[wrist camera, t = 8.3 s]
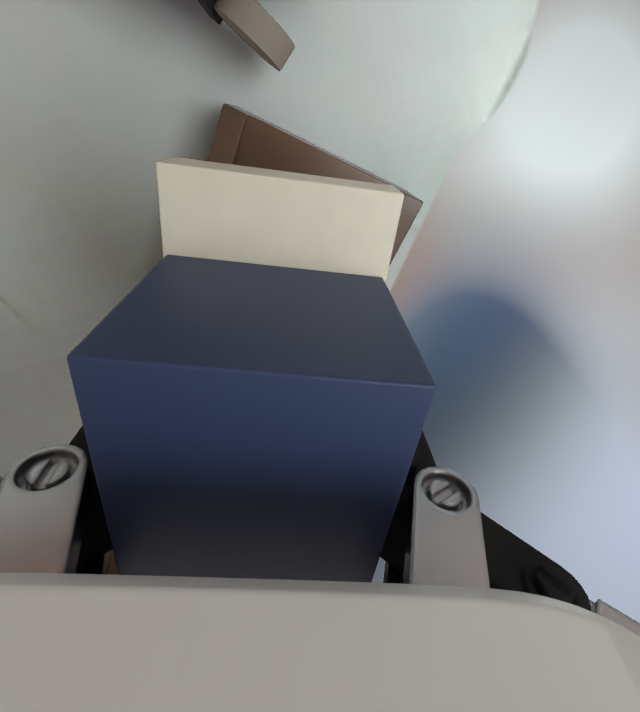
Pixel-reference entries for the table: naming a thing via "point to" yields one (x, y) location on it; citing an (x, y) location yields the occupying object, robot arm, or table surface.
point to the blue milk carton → (256, 381)
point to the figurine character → (253, 28)
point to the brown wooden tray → (292, 157)
